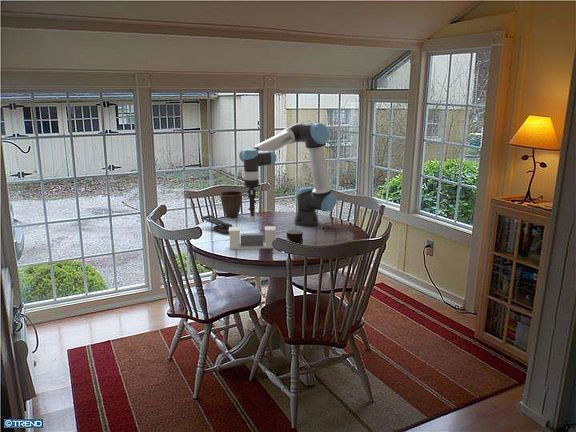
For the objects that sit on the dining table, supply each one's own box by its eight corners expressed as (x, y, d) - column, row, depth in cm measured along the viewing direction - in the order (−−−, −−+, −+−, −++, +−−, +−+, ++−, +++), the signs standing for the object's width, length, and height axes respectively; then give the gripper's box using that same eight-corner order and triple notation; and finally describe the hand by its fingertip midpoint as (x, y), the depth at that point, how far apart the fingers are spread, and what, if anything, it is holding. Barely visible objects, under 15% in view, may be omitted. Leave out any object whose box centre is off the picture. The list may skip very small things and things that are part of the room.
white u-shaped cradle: (275, 243, 269) (275, 226, 266) (276, 248, 261) (275, 230, 259) (229, 244, 267) (229, 226, 265) (229, 249, 259) (228, 230, 257)
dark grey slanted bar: (211, 214, 307) (237, 221, 290) (211, 224, 308) (237, 232, 292) (199, 217, 301) (225, 224, 284) (200, 227, 302) (226, 235, 285)
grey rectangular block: (263, 243, 266) (263, 233, 265) (263, 245, 262) (263, 235, 261) (240, 244, 265) (240, 233, 264) (240, 246, 262) (240, 235, 260)
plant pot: (220, 219, 320) (220, 195, 316) (220, 214, 334) (219, 191, 330) (243, 219, 322) (243, 195, 318) (242, 213, 336) (241, 190, 333)
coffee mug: (285, 247, 262) (285, 229, 260) (301, 247, 263) (301, 229, 260) (287, 254, 251) (287, 235, 248) (304, 254, 252) (304, 235, 249)
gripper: (244, 175, 267) (245, 212, 272) (243, 183, 243) (245, 224, 248) (258, 174, 268) (259, 212, 273) (258, 183, 244) (260, 224, 249)
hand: (252, 218), depth 261 cm, fingers open, 13 cm apart
